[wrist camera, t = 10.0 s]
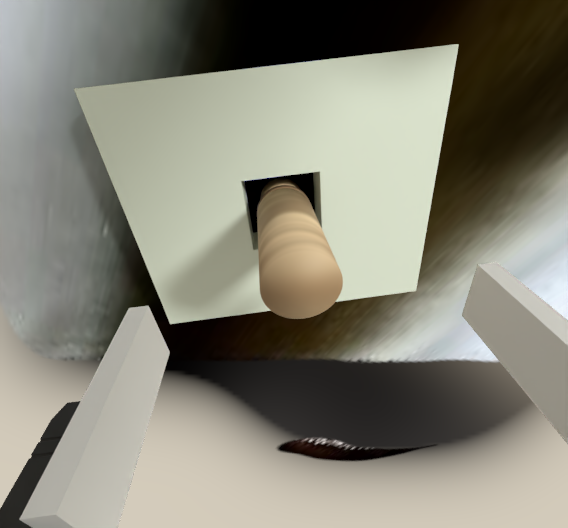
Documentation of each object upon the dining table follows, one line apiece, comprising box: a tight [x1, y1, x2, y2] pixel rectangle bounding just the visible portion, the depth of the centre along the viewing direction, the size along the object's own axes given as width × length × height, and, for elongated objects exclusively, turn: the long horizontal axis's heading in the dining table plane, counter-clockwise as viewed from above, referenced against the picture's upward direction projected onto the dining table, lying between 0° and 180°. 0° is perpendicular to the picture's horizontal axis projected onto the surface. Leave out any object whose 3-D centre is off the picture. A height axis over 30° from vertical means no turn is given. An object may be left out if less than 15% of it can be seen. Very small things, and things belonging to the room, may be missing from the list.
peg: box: [257, 178, 343, 319], centre depth 20 cm, size 4×4×12 cm
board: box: [74, 44, 459, 324], centre depth 23 cm, size 18×22×3 cm
